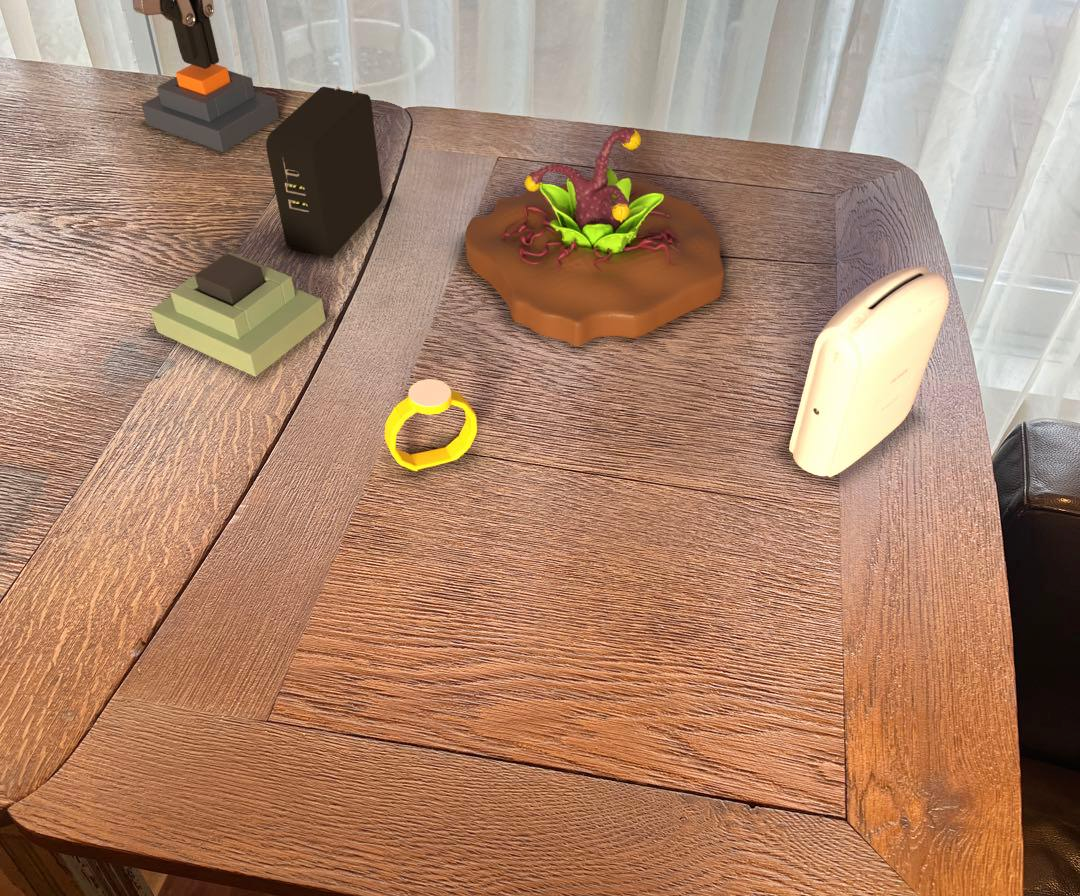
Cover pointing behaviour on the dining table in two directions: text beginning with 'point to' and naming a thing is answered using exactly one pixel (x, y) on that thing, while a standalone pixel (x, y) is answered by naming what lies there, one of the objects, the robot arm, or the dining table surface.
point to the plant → (596, 253)
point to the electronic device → (325, 170)
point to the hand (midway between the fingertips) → (201, 62)
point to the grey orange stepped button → (212, 112)
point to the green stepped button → (241, 321)
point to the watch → (430, 400)
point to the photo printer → (867, 369)
